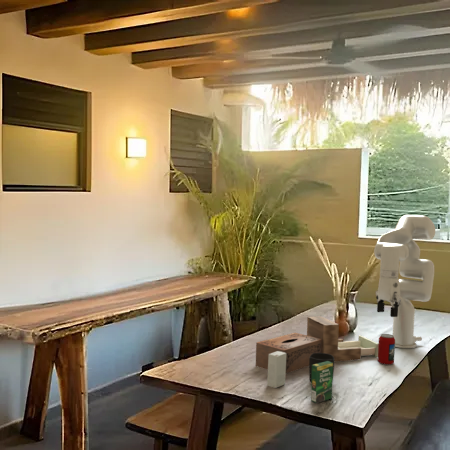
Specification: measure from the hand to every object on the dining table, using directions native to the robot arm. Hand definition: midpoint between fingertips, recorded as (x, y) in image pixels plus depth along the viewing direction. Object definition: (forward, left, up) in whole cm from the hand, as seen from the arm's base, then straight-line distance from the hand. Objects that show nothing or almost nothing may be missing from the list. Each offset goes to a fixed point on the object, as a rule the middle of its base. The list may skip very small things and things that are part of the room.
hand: (387, 314), depth 245 cm
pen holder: (+39, +15, -21) cm, 47 cm away
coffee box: (+48, +32, -21) cm, 61 cm away
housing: (+17, -15, -21) cm, 31 cm away
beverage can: (0, 0, -21) cm, 21 cm away
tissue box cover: (+41, -9, -22) cm, 47 cm away
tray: (+7, -15, -21) cm, 26 cm away
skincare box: (+57, +14, -21) cm, 62 cm away
